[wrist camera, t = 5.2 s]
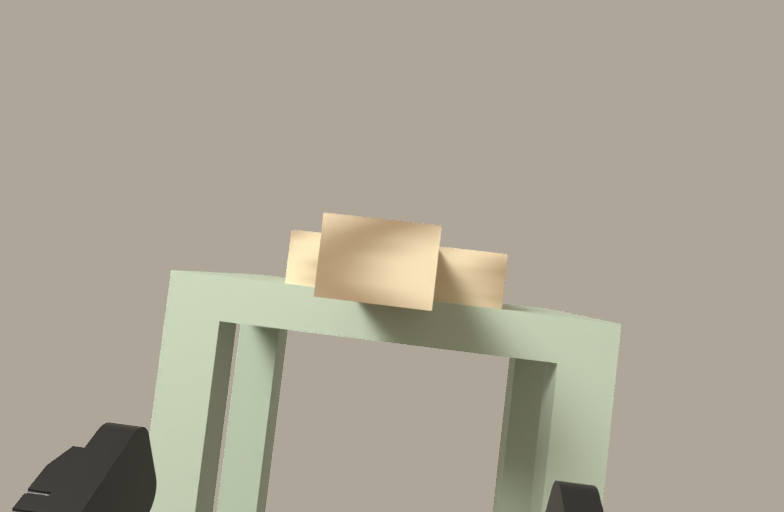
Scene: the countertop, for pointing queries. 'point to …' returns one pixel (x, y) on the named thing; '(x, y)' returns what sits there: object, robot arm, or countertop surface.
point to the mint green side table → (380, 323)
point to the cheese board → (392, 265)
